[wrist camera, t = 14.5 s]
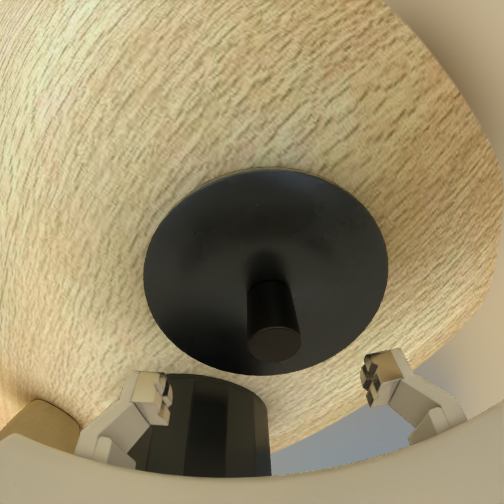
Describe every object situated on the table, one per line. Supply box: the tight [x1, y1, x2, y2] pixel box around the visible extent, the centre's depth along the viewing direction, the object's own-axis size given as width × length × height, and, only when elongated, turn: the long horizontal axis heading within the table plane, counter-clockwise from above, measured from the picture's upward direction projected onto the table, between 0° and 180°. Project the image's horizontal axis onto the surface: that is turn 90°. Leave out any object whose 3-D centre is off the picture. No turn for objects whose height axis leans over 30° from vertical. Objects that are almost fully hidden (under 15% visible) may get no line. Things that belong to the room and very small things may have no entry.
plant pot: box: [0, 399, 80, 455], centre depth 19 cm, size 15×15×16 cm
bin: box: [127, 374, 272, 478], centre depth 18 cm, size 13×13×10 cm
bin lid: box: [143, 167, 388, 376], centre depth 14 cm, size 14×14×5 cm
